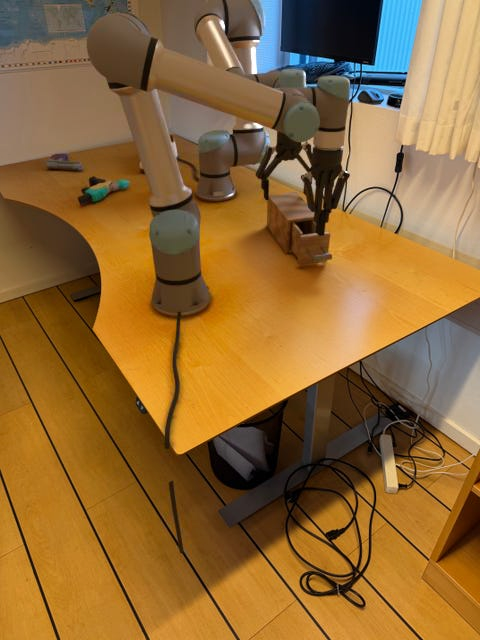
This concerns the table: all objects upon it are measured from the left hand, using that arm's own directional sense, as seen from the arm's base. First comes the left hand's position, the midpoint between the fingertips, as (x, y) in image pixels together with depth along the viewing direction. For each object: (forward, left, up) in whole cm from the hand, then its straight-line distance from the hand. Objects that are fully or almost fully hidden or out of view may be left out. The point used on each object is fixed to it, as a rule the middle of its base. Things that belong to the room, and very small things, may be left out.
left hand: (319, 233), depth 131 cm
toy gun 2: (+54, +84, -12) cm, 100 cm away
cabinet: (+21, +7, -12) cm, 25 cm away
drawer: (+8, +3, -11) cm, 14 cm away
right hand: (+27, +9, 0) cm, 28 cm away
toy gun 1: (+88, +108, -12) cm, 140 cm away
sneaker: (+93, +67, -12) cm, 115 cm away
